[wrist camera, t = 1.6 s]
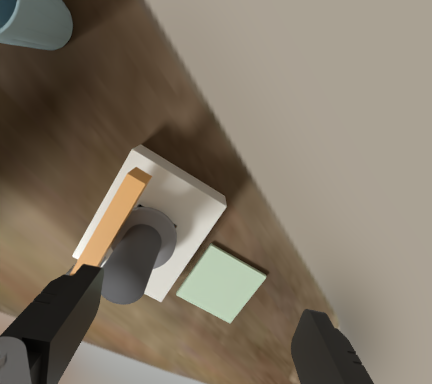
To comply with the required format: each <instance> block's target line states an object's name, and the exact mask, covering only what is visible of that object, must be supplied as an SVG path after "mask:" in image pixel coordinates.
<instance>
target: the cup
mask: <svg viewBox="0 0 432 384" xmlns="http://www.w3.org/2000/svg"><path fill="white" fill-rule="evenodd" d="M72 29H73V22H72V17H71V14H70V11H69V10H68V8H67V7H66V5H65V4H64V2H63V1H62V0H0V43H5V44H11V45H18V46H24V47H31V48H37V49H44V50H56V49H59V48H61V47H63V46H64V45H65V44H66V43H67V42H68V41H69V39H70V37H71V34H72Z"/></svg>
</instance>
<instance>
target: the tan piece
mask: <svg viewBox="0 0 432 384" xmlns="http://www.w3.org/2000/svg"><path fill="white" fill-rule="evenodd" d="M151 178H152V176H151V175H149V174H148V173H146V172H144V171H143V170H141V169H139V168H138V167H135V168H134V169H132V170H131V171H130V172H128V173H127V175H126V176H125V178H124V180H123V182H122V183H121V185H120V187H119V189H118V190H117V192H116V194H115V196H114V197H113V199H112V201H111V203H110V204H109V206H108V208H107V210H106V212H105V213H104V215H103V217H102V219H101V220H100V222H99V224H98V226H97V227H96V229H95V231H94V233H93V234H92V236H91V238H90V240H89V241H88V243H87V245H86V247H85V249H84V250H83V252H82V254H81V256H80V257H79V259H78V261H77V262H76V263H75V264H74V265H73V266H72V268H71V269H70V270H69V271H68V272H67V273H66V274H65V275H70V276H73V275H74V274H75V273H76V271H77V270H78V269H79V268H80V267H81V266H82V265H83V264H87V265H92V266H97V267H99V265H100V264H101V262H102V260H103V258H104V257H105V255H106V253H107V252H108V250H109V248H110V247H111V245H112V243H113V242H114V240H115V238H116V237H117V235H118V233H119V232H120V230H121V228H122V227H123V225H124V223H125V221H126V220H127V218H128V216H129V215H130V213H131V211H132V210H133V208H134V206H135V205H136V203H137V201H138V200H139V198H140V196H141V195H142V193H143V191H144V190H145V188H146V186H147V184H148V183H149V181H150V179H151Z"/></svg>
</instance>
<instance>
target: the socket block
mask: <svg viewBox="0 0 432 384" xmlns="http://www.w3.org/2000/svg"><path fill="white" fill-rule="evenodd" d="M135 167H138V168H139V169H141V170H143V171H144V172H146V173H148V174H149V175H151V176H152V178H151V179H150V181H149V183H148V184H147V186H146V188H145V190H144V191H143V193H142V195H141V196H140V198H139V200H138V201H137V203H136V205H135V206H134V208H137V207H139V205H142V206H144V207H150V208H154V209H157V210H159V211H161V212H162V213H164V214H165V215H166V216H168V217H169V219H170V220H171V221H172V223H173V224H174V226H175V229H176V233H177V242H176V246H175V250H174V253H173V255H172V256H171V258H170V259H169V260H168V261H167V262H166V263H165V264H164V265H162V266H160V267H158V268H155V269H153V270H152V273H151V275H150V278H149V281H148V284H147V286H146V289H145V292H144V294H146V295H148V296H150V297H152V298H154V299H156V300H158V301H160V302H161V301H162V300H163V298H164V297H165V295H166V294H167V293H168V291H169V290H170V288H171V287H172V285H173V284H174V282H175V281H176V280H177V278H178V277H179V275H180V274H181V272H182V271H183V269H184V268H185V266H186V265H187V264H188V262H189V261H190V259H191V258H192V256H193V255H194V253H195V252H196V251H197V249H198V248H199V246H200V245H201V243H202V242H203V240H204V239H205V237H206V236H207V235H208V233H209V232H210V230H211V229H212V227H213V226H214V224H215V223H216V221H217V220H218V219H219V217H220V216H221V214H222V213H223V211H224V210H225V208H226V207H227V205H226V198H225V196H224V195H223V194H221V193H219V192H218V191H216V190H215V189H213V188H211V187H210V186H208V185H206V184H205V183H203V182H201V181H200V180H198V179H197V178H195V177H193V176H192V175H190V174H188V173H187V172H185V171H184V170H182V169H180V168H179V167H177V166H175V165H174V164H172V163H170V162H169V161H167V160H166V159H164V158H162V157H161V156H159V155H157V154H156V153H154V152H153V151H151V150H149V149H148V148H146V147H144V146H143V145H139V146H137V147H135V148H133V149H132V150H131V152H130V154H129V155H128V157H127V159H126V161H125V163H124V164H123V166H122V168H121V170H120V172H119V173H118V175H117V177H116V179H115V180H114V182H113V184H112V186H111V188H110V189H109V191H108V193H107V195H106V197H105V198H104V200H103V202H102V204H101V206H100V207H99V209H98V211H97V213H96V214H95V216H94V218H93V220H92V222H91V223H90V225H89V227H88V229H87V231H86V232H85V234H84V236H83V238H82V239H81V241H80V243H79V245H78V247H77V248H76V250H75V252H74V254H73V256H72V257H74V258H76V259H79V257H80V256H81V254H82V252H83V250H84V249H85V247H86V245H87V243H88V241H89V240H90V238H91V236H92V234H93V233H94V231H95V229H96V227H97V226H98V224H99V222H100V220H101V219H102V217H103V215H104V213H105V212H106V210H107V208H108V206H109V204H110V203H111V201H112V199H113V197H114V196H115V194H116V192H117V190H118V189H119V187H120V185H121V183H122V182H123V180H124V178H125V176H126V175H127V173H128V172H130V171H131V170H132V169H134V168H135ZM112 252H113V250H112V248H111V247H110V248H109V250H108V252H107V253H106V255H105V257H104V258H103V260H102V262H101V264H100V265H99V267H103V265H104V264H105V262H106V261H107V260H108V258H109V257H110V255H111V254H112Z"/></svg>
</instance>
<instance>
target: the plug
mask: <svg viewBox="0 0 432 384" xmlns="http://www.w3.org/2000/svg"><path fill="white" fill-rule="evenodd" d="M176 242H177V233H176V229H175V226H174V224H173V223H172V221H171V220H170V219H169V217H168V216H166V215H165V214H164V213H162V212H161V211H159V210H157V209H154V208H150V207H137V208H133V210H132V211H131V213H130V215H129V216H128V218H127V220H126V221H125V223H124V225H123V227H122V228H121V230H120V232H119V233H118V235H117V237H116V238H115V240H114V242H113V243H112V245H111V248H112V250H113V252H112V254H111V255H110V257H109V258H108V260H107V261H106V262H105V264H104V265H103V267H102V268H104V277H103V284H102V291H101V295H102V296H103V297H104V298H106V299H107V300H109V301H110V302H113V303H116V304H130V303H133V302H135V301H137V300H138V299H140V298H141V297H142V295H143V294H144V292H145V289H146V286H147V284H148V281H149V278H150V275H151V273H152V270H153V269H155V268H158V267H160V266H162V265H164V264H165V263H166V262H167V261H168V260H169V259H170V258H171V256H172V255H173V253H174V250H175V246H176Z"/></svg>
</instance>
